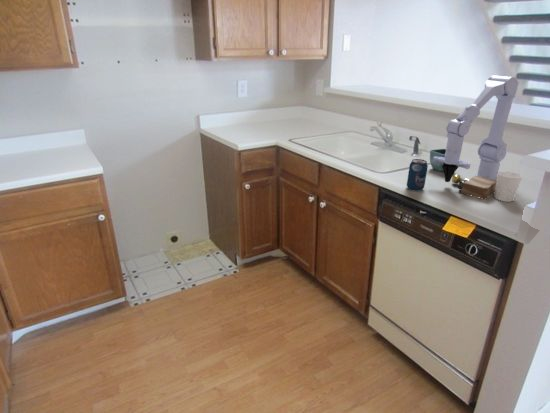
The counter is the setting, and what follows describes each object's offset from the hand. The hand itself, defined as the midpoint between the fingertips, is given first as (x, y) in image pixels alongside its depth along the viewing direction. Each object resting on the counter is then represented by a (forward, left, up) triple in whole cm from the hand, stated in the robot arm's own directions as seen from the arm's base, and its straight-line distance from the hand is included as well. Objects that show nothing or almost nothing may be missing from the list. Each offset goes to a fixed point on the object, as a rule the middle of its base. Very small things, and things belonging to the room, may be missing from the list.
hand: (447, 181), depth 160 cm
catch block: (-3, +12, -2) cm, 13 cm away
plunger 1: (-6, +5, -2) cm, 8 cm away
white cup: (-3, +21, -3) cm, 22 cm away
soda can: (+12, -8, -3) cm, 15 cm away
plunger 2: (0, +10, -2) cm, 10 cm away
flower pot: (-21, -12, -3) cm, 24 cm away
